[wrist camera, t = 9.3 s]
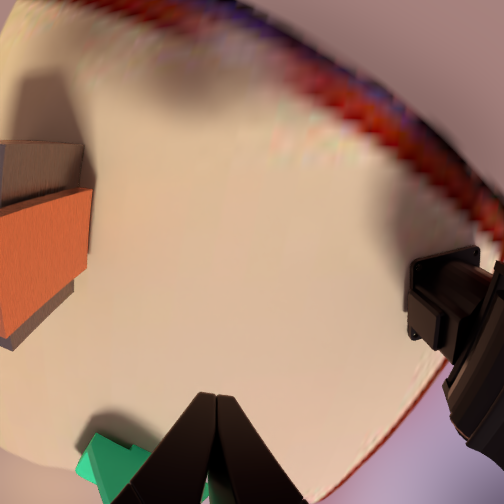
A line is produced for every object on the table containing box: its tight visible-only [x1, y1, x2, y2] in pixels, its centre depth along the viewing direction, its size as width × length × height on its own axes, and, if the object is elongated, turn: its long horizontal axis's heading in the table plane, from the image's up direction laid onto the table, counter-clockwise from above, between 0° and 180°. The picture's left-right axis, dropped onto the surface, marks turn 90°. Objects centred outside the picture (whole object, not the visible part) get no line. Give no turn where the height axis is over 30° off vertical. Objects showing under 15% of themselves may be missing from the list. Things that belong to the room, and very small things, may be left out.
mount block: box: [0, 140, 84, 351], centre depth 15 cm, size 5×10×8 cm, turn 168°
